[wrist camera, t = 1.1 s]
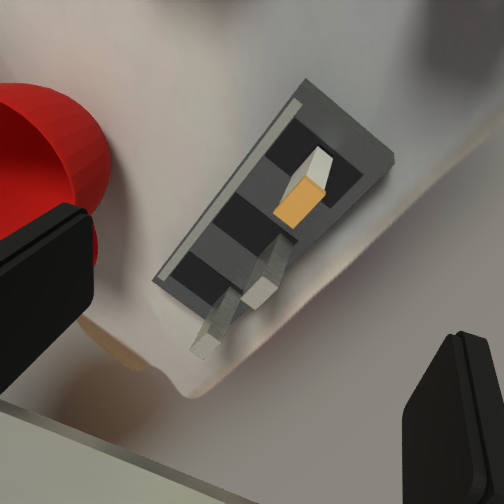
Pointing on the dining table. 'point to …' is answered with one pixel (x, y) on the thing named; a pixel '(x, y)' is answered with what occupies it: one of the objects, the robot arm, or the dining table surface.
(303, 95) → the breaker panel
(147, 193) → the dining table surface
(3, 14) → the dining table surface
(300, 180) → the handle
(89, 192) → the ceramic cup
